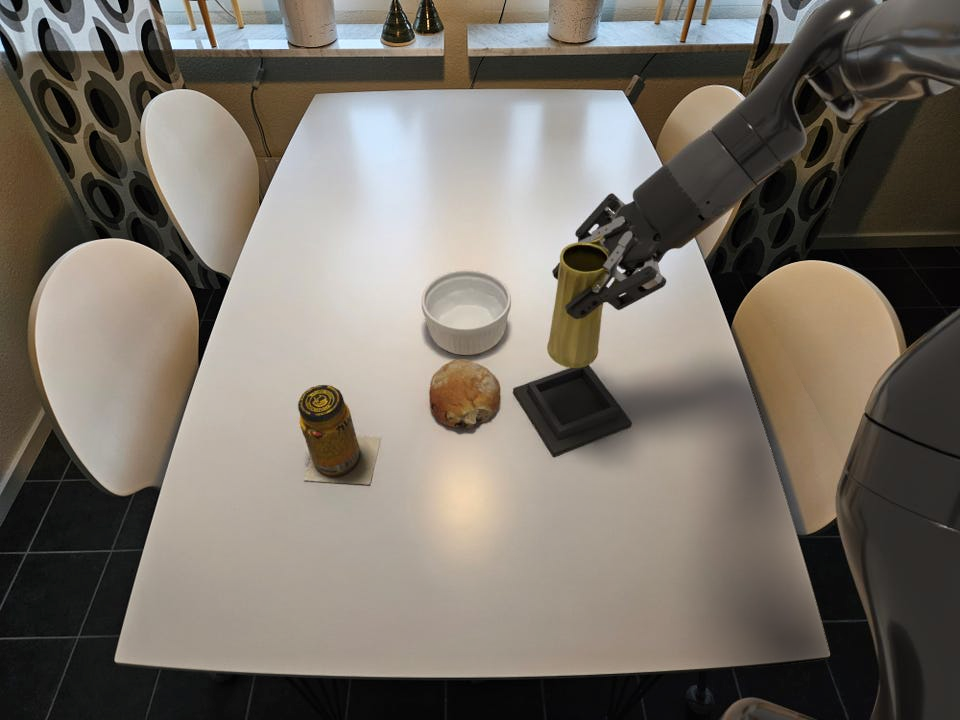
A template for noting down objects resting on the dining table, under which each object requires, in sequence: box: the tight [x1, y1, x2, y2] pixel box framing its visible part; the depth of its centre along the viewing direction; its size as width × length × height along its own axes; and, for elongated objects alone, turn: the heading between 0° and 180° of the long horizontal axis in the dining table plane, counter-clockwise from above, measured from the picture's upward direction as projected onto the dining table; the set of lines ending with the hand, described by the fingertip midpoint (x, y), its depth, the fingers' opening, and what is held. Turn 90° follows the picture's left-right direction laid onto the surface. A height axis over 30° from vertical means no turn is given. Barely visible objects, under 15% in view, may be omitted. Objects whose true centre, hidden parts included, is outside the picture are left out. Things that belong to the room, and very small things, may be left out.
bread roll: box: [428, 359, 502, 431], centre depth 89 cm, size 10×10×8 cm
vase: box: [546, 241, 609, 369], centre depth 72 cm, size 6×6×14 cm
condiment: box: [297, 384, 382, 485], centre depth 80 cm, size 7×8×12 cm
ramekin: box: [421, 269, 512, 356], centre depth 97 cm, size 13×13×7 cm
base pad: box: [512, 364, 633, 458], centre depth 88 cm, size 12×12×3 cm
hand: (564, 295), depth 71 cm, fingers closed on vase, 5 cm apart
